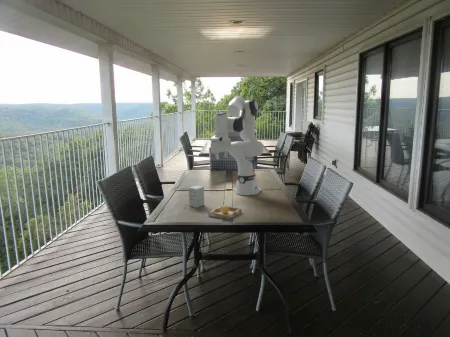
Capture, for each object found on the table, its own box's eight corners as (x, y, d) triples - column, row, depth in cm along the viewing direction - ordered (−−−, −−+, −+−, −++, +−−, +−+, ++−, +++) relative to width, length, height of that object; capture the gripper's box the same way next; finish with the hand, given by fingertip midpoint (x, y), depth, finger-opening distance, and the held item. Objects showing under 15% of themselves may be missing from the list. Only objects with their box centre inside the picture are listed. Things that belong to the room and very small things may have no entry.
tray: (222, 209, 225) (222, 205, 225) (241, 212, 218) (241, 208, 218) (208, 216, 212) (208, 212, 212) (228, 219, 205) (228, 215, 204)
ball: (223, 211, 218) (223, 203, 217) (230, 212, 216) (230, 204, 215) (219, 214, 214) (219, 206, 213) (226, 215, 212) (226, 207, 211)
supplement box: (196, 203, 239) (196, 185, 236) (204, 205, 234) (204, 186, 232) (188, 205, 233) (188, 187, 231) (196, 207, 229) (196, 189, 226)
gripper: (225, 135, 238) (225, 156, 240) (208, 138, 221) (209, 160, 223) (233, 136, 234) (233, 156, 237) (217, 139, 217) (217, 161, 220)
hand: (221, 158), depth 230 cm, fingers open, 8 cm apart
